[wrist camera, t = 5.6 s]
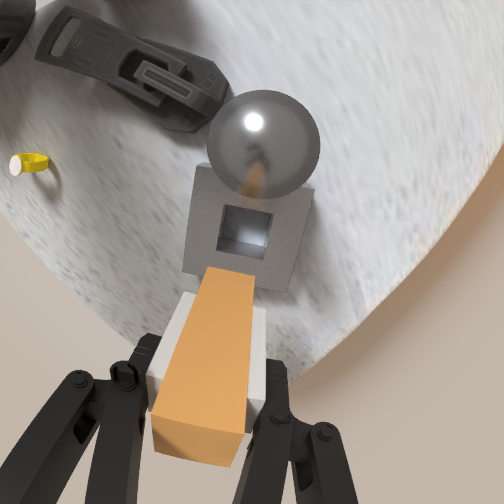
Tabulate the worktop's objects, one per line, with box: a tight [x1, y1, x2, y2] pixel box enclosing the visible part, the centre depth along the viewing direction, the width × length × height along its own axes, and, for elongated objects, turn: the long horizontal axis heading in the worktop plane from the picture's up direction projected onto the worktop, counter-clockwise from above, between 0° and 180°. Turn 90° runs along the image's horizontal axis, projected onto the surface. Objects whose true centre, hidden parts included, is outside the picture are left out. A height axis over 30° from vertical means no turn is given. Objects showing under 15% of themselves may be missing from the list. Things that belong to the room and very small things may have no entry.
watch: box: [9, 153, 49, 176], centre depth 28 cm, size 6×3×6 cm, turn 71°
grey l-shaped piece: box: [182, 90, 320, 293], centre depth 23 cm, size 18×12×20 cm
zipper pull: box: [35, 6, 229, 133], centre depth 23 cm, size 9×7×25 cm
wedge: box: [151, 266, 255, 467], centre depth 14 cm, size 3×3×12 cm
